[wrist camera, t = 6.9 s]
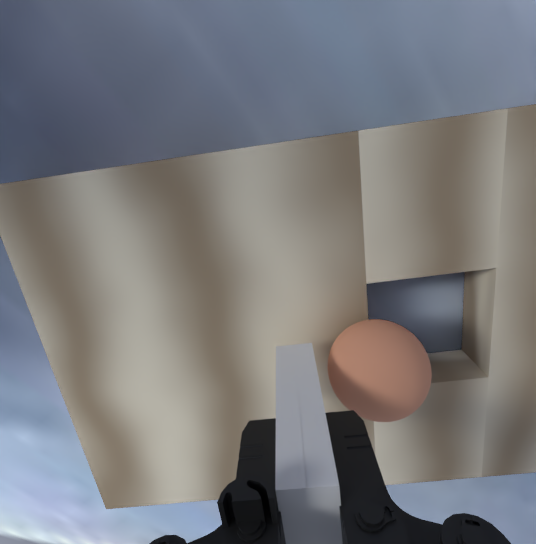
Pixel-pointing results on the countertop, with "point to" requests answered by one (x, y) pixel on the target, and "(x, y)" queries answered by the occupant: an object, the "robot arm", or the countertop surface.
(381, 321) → the ball
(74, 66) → the countertop surface
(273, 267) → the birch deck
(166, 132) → the countertop surface
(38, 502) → the countertop surface
